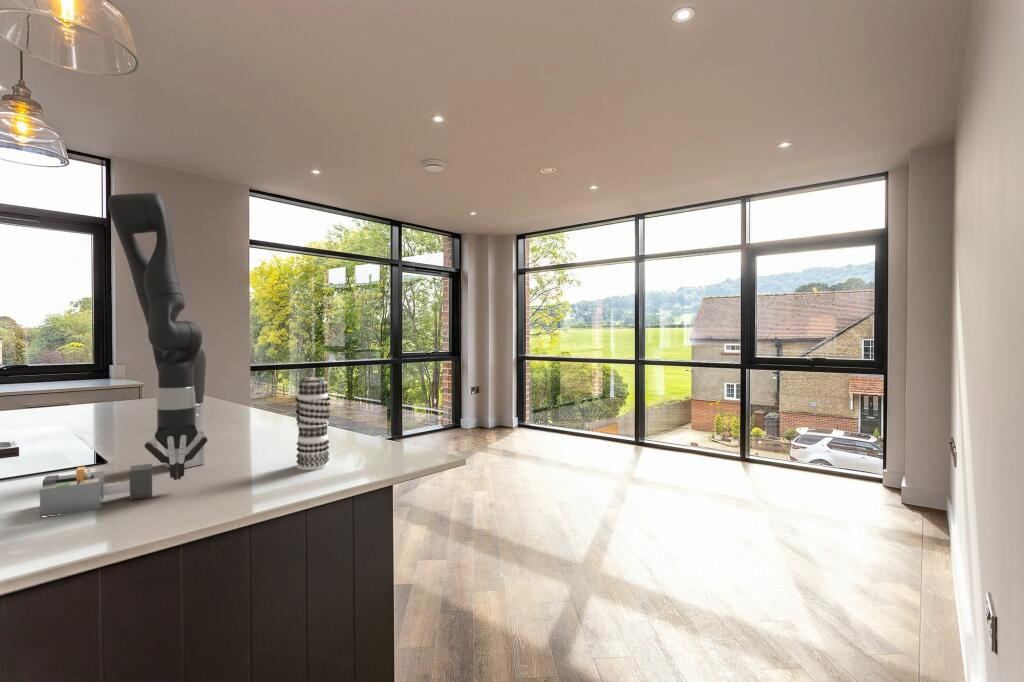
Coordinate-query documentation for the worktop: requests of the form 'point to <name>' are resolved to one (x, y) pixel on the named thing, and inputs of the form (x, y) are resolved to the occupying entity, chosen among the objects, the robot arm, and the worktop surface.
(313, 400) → the decorative candle
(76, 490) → the gauge housing
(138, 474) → the dark cube on shaft
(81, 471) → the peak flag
